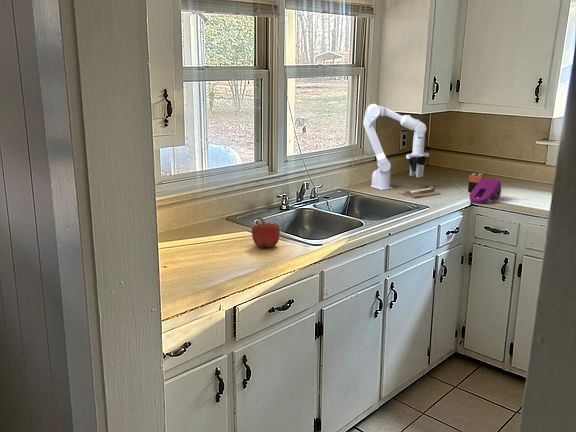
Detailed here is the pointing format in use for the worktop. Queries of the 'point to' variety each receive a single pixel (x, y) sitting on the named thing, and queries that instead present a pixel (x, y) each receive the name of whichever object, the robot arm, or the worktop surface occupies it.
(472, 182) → the battery
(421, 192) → the rail mount
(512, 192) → the worktop surface
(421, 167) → the block
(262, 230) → the vegetable
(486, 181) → the mounting bracket
